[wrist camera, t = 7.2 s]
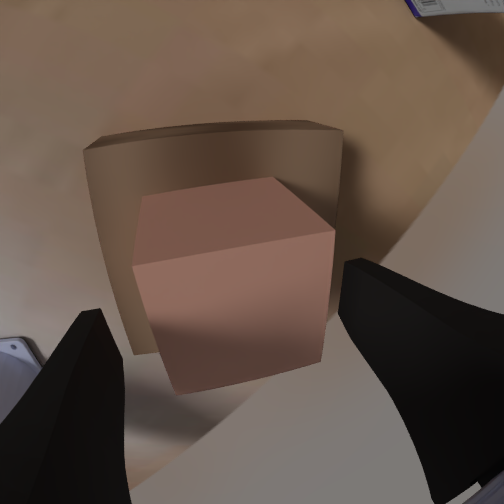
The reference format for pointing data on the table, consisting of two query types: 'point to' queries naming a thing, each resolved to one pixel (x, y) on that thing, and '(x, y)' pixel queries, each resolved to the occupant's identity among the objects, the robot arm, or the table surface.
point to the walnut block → (198, 184)
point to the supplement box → (454, 7)
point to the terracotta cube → (233, 281)
